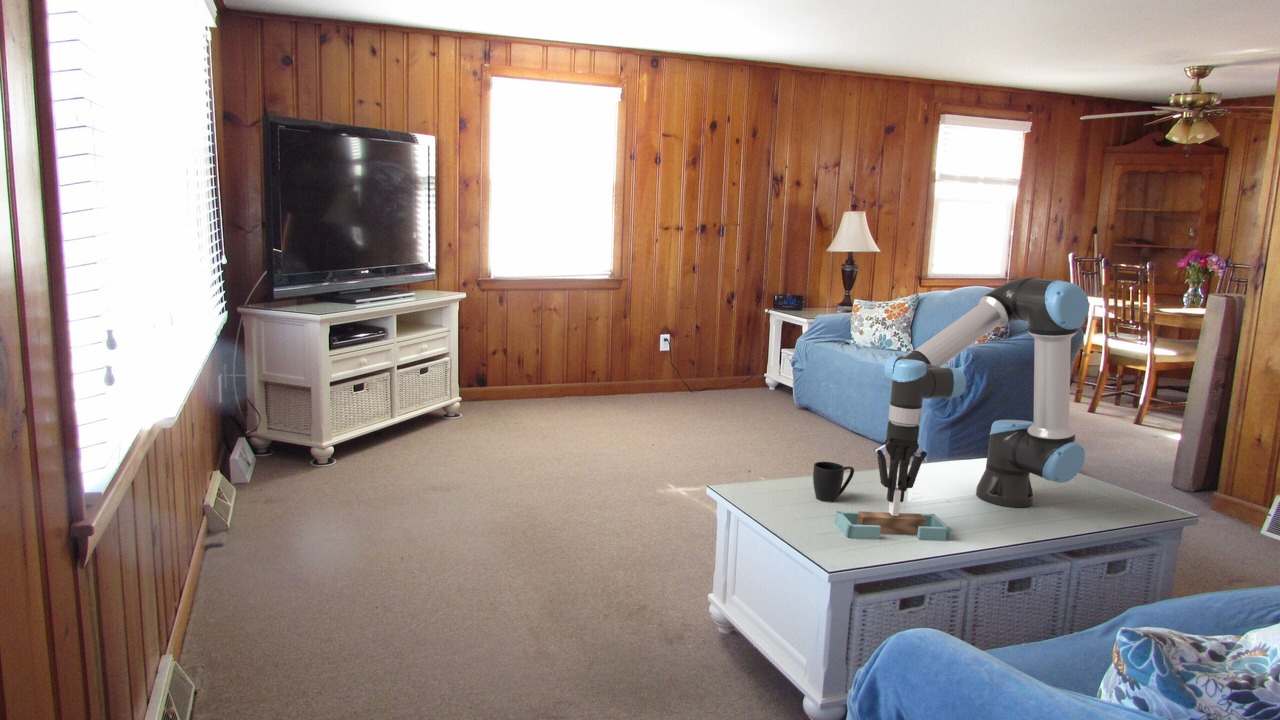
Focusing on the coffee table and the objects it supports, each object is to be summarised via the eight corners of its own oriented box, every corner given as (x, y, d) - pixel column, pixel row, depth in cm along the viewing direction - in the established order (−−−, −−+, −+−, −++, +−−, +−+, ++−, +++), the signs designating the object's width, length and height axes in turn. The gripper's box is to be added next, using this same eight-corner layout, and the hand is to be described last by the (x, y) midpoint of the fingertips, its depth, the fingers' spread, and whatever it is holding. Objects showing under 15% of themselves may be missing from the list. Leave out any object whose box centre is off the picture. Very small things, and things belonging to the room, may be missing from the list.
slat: (918, 530, 218) (920, 513, 218) (924, 536, 214) (926, 519, 214) (856, 528, 217) (858, 511, 217) (861, 534, 214) (863, 517, 213)
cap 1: (847, 537, 210) (849, 526, 209) (834, 522, 220) (836, 511, 219) (879, 538, 210) (880, 527, 210) (865, 523, 221) (866, 512, 220)
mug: (858, 502, 237) (862, 469, 235) (820, 504, 233) (823, 470, 231) (843, 492, 244) (846, 460, 243) (805, 494, 241) (808, 461, 239)
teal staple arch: (932, 525, 222) (934, 513, 222) (950, 540, 212) (951, 528, 211) (902, 524, 221) (904, 513, 221) (918, 539, 211) (920, 528, 211)
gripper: (923, 419, 215) (912, 509, 219) (872, 417, 214) (863, 508, 218) (935, 427, 208) (924, 520, 212) (883, 425, 207) (873, 518, 211)
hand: (893, 513), depth 215 cm, fingers closed
